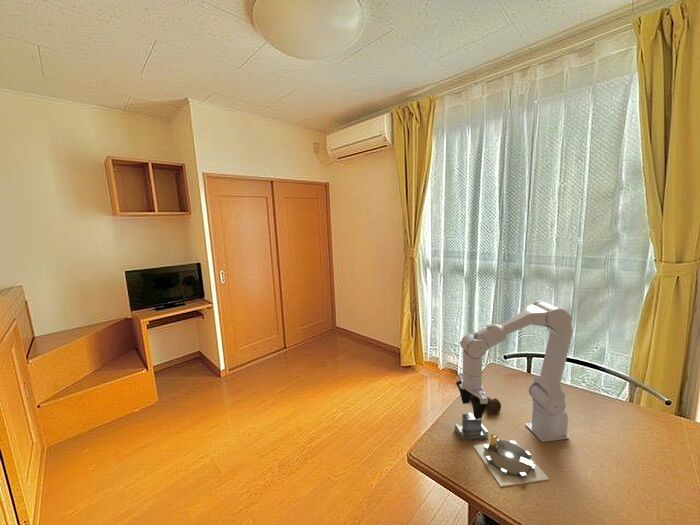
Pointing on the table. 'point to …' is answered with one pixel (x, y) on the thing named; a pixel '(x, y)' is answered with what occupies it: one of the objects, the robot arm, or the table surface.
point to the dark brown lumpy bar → (491, 405)
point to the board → (509, 479)
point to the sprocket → (509, 457)
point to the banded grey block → (471, 423)
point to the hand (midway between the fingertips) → (471, 410)
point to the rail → (473, 436)
